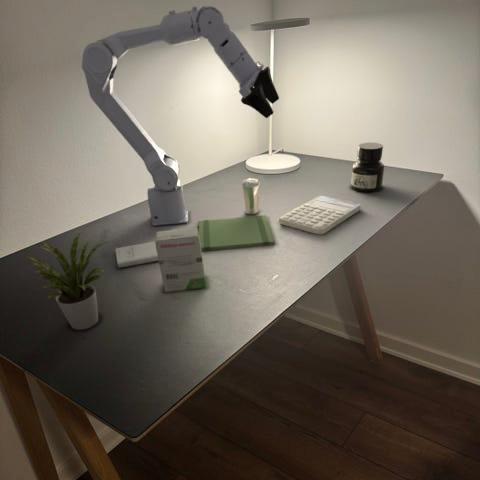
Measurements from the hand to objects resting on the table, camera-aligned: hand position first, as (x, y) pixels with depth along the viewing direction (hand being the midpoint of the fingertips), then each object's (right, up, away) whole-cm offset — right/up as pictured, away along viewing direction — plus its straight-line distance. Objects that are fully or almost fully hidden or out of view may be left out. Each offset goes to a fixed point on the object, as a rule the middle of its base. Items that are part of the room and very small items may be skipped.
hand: (273, 108), depth 108 cm
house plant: (-37, -51, -22) cm, 67 cm away
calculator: (+13, -24, +10) cm, 29 cm away
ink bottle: (+30, -12, +25) cm, 41 cm away
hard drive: (-31, -36, -3) cm, 48 cm away
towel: (-9, -30, +4) cm, 31 cm away
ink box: (-19, -44, -15) cm, 50 cm away
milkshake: (-4, -22, +15) cm, 27 cm away
